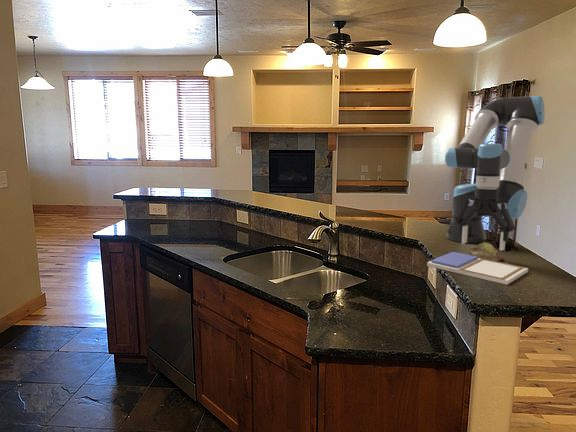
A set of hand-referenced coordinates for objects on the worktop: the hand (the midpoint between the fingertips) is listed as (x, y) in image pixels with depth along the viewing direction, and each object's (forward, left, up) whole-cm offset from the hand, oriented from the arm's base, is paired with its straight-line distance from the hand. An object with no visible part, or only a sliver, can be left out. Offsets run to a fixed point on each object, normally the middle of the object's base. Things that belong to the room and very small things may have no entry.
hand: (482, 246), depth 156 cm
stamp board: (+16, +5, -4) cm, 17 cm away
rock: (0, +1, -4) cm, 4 cm away
